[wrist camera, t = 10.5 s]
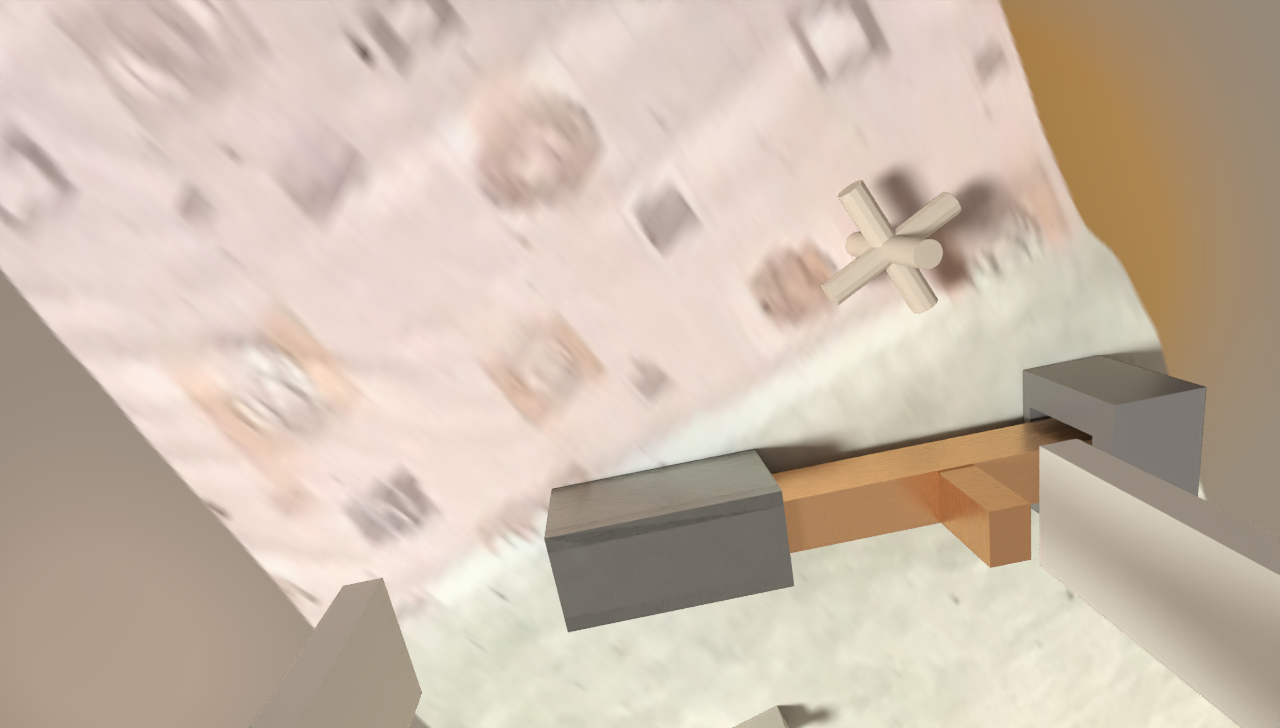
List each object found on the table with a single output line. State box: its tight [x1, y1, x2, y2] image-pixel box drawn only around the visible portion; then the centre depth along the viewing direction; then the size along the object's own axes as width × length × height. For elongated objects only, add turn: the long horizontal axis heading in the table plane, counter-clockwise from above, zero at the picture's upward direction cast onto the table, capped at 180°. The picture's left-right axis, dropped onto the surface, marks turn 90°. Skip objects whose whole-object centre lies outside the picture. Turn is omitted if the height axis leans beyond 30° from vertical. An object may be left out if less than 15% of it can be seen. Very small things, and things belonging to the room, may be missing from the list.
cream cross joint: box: [821, 180, 961, 313], centre depth 41 cm, size 10×10×10 cm
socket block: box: [1023, 355, 1206, 513], centre depth 47 cm, size 12×6×9 cm, turn 10°
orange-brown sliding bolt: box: [771, 418, 1092, 568], centre depth 44 cm, size 4×30×10 cm, turn 100°
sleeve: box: [544, 449, 794, 632], centre depth 46 cm, size 8×17×8 cm, turn 100°
